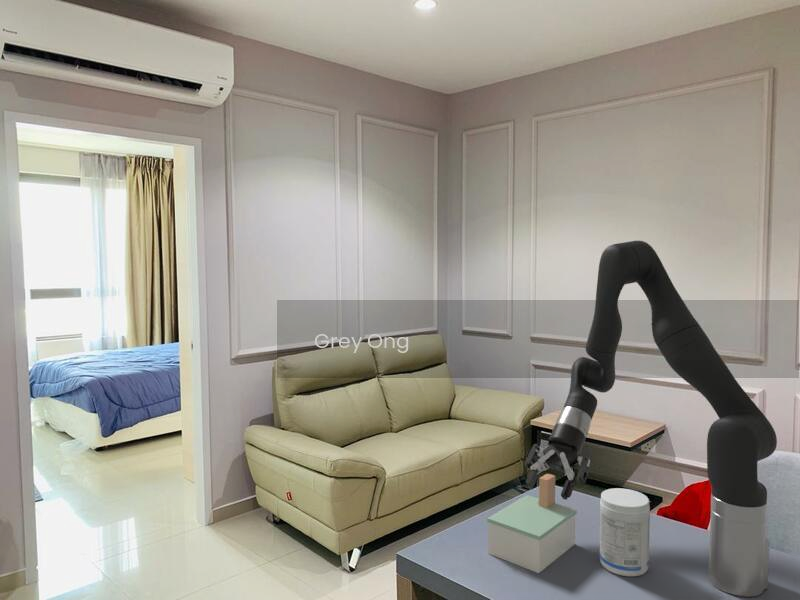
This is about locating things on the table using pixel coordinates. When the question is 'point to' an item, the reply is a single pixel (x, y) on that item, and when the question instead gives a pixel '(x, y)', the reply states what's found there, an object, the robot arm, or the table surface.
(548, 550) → the parts tub
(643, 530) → the supplement tub
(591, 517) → the table surface
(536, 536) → the lid
